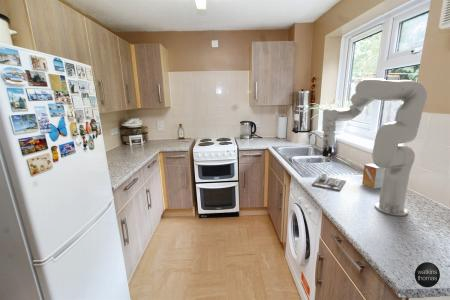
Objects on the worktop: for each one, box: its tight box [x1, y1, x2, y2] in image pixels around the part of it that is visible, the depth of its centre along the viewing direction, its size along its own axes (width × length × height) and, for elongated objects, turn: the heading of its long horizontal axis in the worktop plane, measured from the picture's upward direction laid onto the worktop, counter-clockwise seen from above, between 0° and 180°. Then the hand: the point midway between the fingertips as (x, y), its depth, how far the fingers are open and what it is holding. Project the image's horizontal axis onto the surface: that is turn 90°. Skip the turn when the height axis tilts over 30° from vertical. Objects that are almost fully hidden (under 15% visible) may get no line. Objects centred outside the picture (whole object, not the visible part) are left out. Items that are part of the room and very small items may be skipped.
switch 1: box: [321, 172, 328, 181], centre depth 140 cm, size 3×3×5 cm
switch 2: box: [330, 176, 338, 187], centre depth 131 cm, size 3×3×5 cm
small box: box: [362, 163, 385, 190], centre depth 131 cm, size 8×6×13 cm
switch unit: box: [311, 175, 346, 192], centre depth 137 cm, size 18×16×2 cm
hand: (327, 154), depth 139 cm, fingers open, 9 cm apart
